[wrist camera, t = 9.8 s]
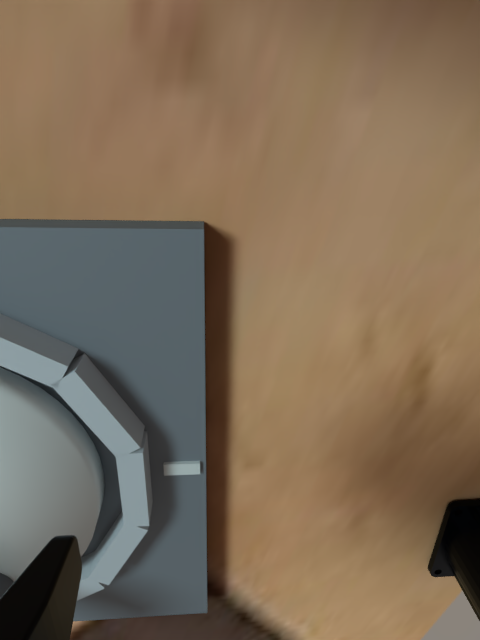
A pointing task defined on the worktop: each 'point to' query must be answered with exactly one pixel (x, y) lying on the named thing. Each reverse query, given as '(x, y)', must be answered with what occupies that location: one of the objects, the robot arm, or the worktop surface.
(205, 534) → the dial plate
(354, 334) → the worktop surface
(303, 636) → the worktop surface
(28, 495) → the dial knob
